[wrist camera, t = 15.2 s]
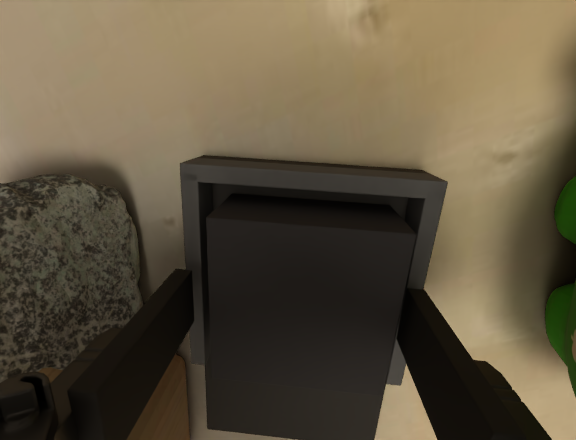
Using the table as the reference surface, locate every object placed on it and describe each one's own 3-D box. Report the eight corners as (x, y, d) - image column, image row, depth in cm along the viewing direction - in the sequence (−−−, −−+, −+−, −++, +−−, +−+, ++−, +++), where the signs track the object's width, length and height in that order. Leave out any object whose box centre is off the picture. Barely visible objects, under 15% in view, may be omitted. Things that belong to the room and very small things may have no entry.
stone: (10, 422, 8) (-377, 310, 8) (112, 403, 17) (-68, 349, 16) (167, 169, 13) (-62, 89, 13) (185, 253, 22) (48, 208, 21)
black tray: (369, 434, 21) (378, 482, 18) (211, 416, 22) (196, 460, 19) (423, 170, 15) (448, 181, 12) (202, 155, 16) (179, 162, 13)
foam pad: (231, 323, 18) (210, 378, 14) (231, 192, 15) (205, 217, 12) (367, 337, 18) (382, 397, 14) (390, 204, 15) (417, 234, 11)
